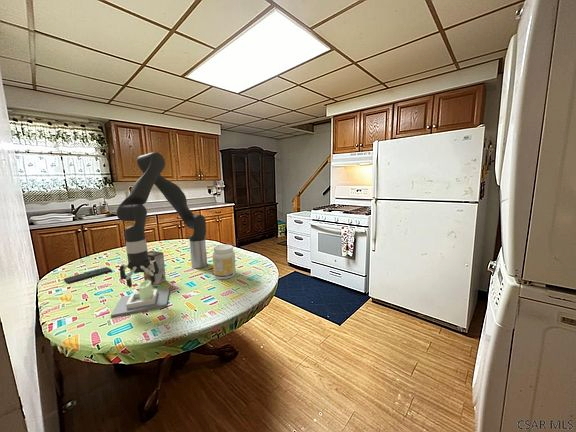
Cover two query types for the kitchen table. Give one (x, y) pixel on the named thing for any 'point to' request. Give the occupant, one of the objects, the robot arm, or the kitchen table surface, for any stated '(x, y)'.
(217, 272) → the supplement tub
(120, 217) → the robot arm
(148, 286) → the candle
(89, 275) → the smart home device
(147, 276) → the coffee box
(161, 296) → the holder board
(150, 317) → the kitchen table surface
